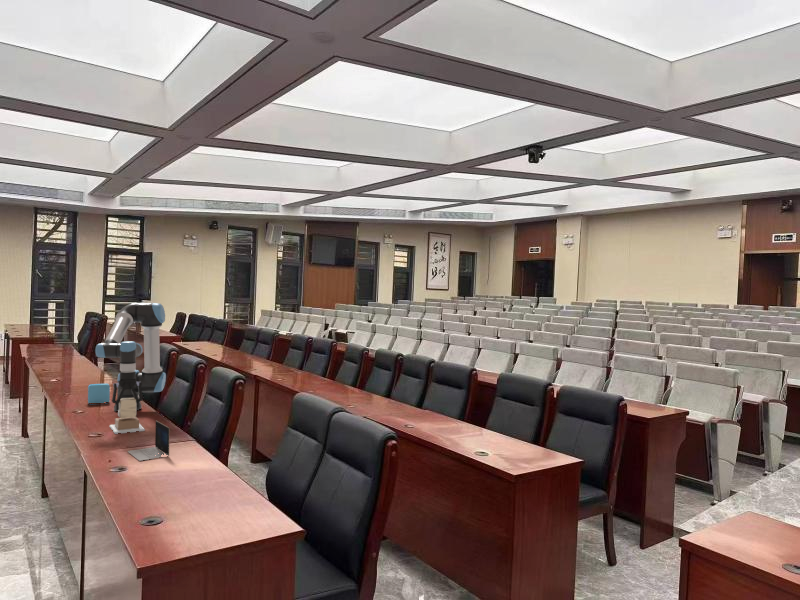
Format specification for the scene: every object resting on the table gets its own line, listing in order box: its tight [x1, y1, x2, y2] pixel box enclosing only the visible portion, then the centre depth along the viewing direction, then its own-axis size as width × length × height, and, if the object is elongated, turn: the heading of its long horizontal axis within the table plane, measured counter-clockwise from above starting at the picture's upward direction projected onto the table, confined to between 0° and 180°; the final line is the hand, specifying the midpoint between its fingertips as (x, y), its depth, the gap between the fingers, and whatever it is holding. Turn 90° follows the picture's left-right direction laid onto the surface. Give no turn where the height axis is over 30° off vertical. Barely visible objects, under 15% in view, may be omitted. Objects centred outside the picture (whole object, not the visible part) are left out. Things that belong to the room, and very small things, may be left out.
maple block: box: [119, 398, 137, 418], centre depth 308 cm, size 7×7×9 cm
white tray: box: [109, 416, 146, 435], centre depth 308 cm, size 18×14×5 cm
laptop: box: [127, 420, 171, 462], centre depth 262 cm, size 18×12×13 cm
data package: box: [87, 383, 111, 404], centre depth 372 cm, size 12×4×12 cm, turn 119°
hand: (127, 415), depth 308 cm, fingers closed on maple block, 7 cm apart
